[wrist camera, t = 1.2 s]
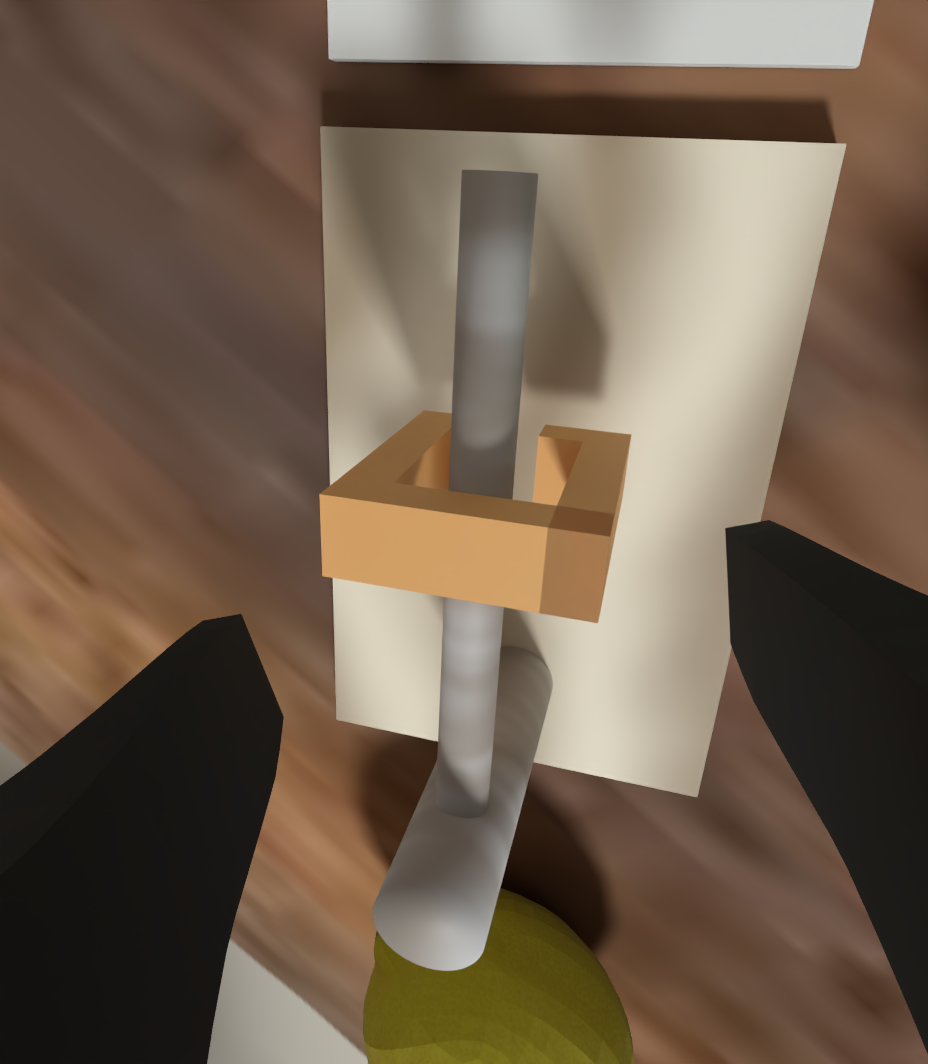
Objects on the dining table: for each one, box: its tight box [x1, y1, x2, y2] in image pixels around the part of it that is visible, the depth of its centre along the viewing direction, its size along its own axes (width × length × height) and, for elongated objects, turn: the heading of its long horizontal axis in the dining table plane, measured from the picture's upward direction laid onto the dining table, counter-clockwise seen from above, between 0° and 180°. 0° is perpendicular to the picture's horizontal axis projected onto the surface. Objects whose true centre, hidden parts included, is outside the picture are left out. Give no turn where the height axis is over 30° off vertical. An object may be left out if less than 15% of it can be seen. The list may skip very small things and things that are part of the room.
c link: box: [320, 410, 631, 623], centre depth 15 cm, size 5×2×6 cm, turn 87°
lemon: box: [363, 888, 634, 1064], centre depth 25 cm, size 11×8×8 cm
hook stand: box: [320, 126, 846, 971], centre depth 17 cm, size 12×18×10 cm, turn 177°
